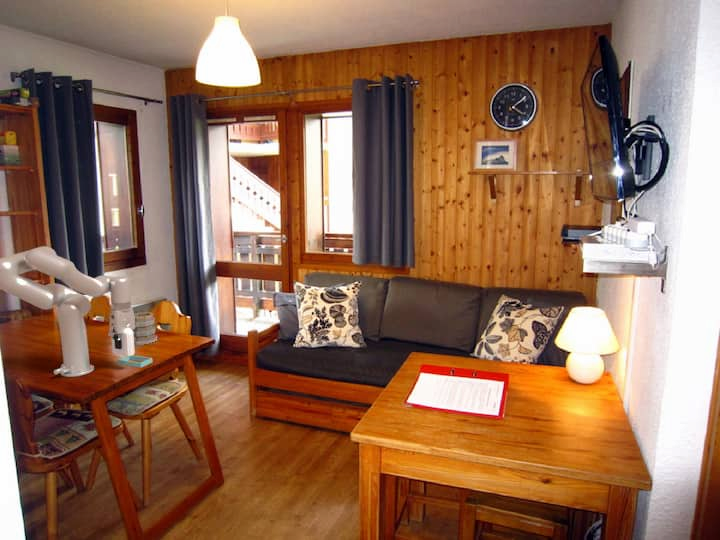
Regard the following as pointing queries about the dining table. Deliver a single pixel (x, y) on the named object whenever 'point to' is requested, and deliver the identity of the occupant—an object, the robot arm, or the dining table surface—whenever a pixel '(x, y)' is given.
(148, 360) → the slot frame
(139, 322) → the tankard
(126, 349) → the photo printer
